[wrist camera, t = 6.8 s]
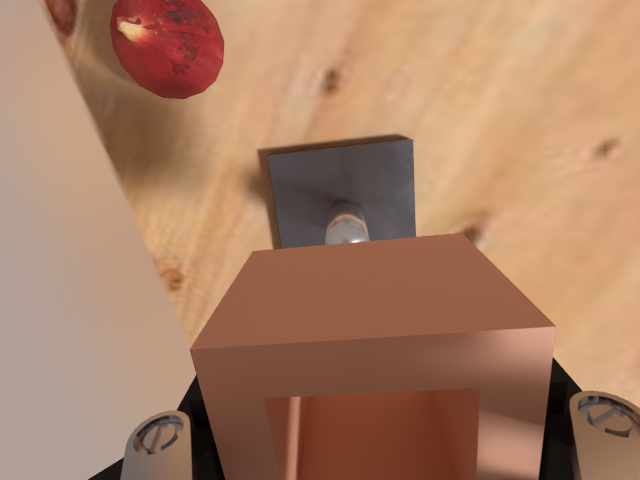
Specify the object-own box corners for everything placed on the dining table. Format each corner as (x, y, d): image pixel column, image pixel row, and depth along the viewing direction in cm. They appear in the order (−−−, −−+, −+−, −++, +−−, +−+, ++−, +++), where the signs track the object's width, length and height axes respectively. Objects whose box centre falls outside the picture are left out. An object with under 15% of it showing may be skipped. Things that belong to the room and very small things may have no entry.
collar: (252, 251, 11) (189, 349, 7) (461, 233, 11) (555, 326, 6) (282, 410, 13) (250, 572, 9) (459, 402, 13) (527, 571, 8)
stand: (269, 154, 26) (246, 167, 19) (410, 138, 25) (435, 146, 18) (289, 279, 29) (274, 328, 22) (414, 269, 28) (437, 316, 22)
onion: (216, -10, 23) (156, -74, 15) (251, 83, 24) (212, 68, 17) (136, 24, 24) (41, -19, 16) (175, 112, 25) (106, 111, 18)
